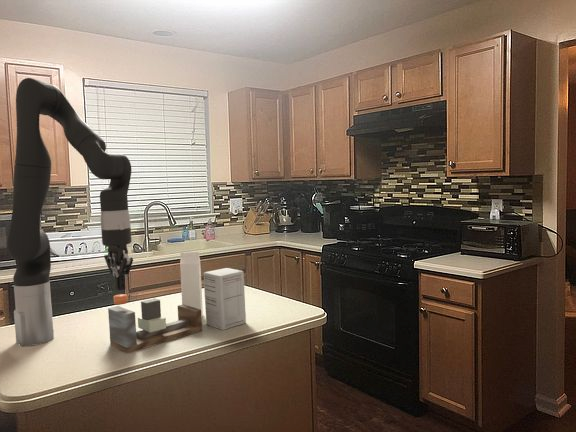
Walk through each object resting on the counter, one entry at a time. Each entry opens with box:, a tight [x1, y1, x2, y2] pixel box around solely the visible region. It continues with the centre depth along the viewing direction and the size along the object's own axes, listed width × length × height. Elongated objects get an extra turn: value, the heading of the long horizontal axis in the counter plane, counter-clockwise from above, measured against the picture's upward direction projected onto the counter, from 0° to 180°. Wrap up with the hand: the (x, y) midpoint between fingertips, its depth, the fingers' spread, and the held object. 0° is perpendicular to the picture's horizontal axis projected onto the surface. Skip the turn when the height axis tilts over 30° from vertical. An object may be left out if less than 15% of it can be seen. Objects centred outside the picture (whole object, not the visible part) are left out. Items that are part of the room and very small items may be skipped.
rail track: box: [107, 303, 203, 354], centre depth 137 cm, size 24×10×10 cm, turn 135°
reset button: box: [113, 293, 128, 306], centre depth 129 cm, size 4×4×2 cm
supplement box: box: [203, 267, 247, 331], centre depth 148 cm, size 10×9×17 cm
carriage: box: [137, 297, 167, 332], centre depth 136 cm, size 5×7×8 cm
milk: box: [179, 251, 204, 319], centre depth 156 cm, size 6×6×22 cm
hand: (120, 289), depth 129 cm, fingers closed
